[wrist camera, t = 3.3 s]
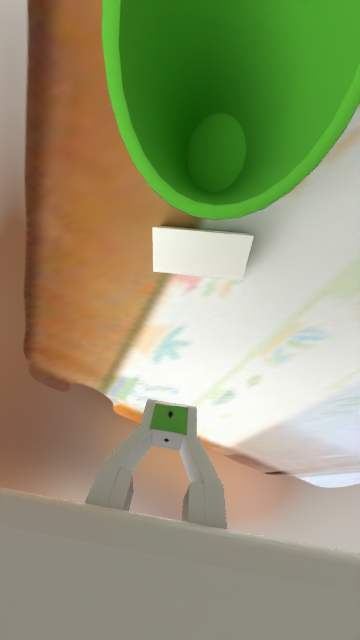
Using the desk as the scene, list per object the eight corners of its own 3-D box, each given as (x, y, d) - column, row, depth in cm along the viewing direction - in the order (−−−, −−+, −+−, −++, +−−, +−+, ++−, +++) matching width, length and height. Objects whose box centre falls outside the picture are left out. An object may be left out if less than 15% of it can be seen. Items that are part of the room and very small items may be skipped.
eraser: (245, 233, 18) (254, 236, 15) (236, 271, 20) (241, 280, 17) (161, 225, 18) (152, 227, 15) (160, 263, 20) (153, 271, 17)
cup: (232, 234, 18) (266, 252, 8) (151, 194, 17) (85, 163, 7) (296, 113, 13) (541, -162, 4) (189, 48, 12) (137, -559, 3)
